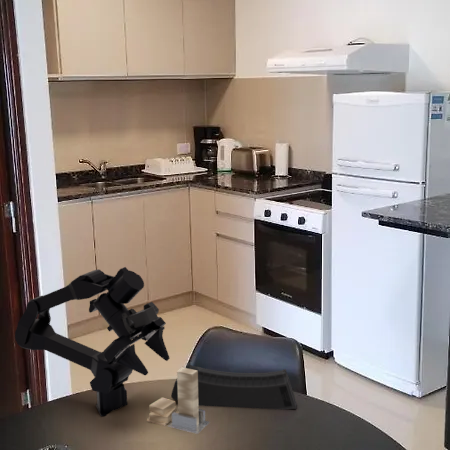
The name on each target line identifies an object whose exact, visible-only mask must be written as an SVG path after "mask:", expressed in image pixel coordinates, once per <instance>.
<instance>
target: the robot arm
mask: <svg viewBox="0 0 450 450" xmlns="http://www.w3.org/2000/svg"><path fill="white" fill-rule="evenodd" d="M144 286H145V282H144V279H143V278H142V277H141V275H140V274H138V273H136V272H134V271H132V270H129V269H128V268H127V267H126V266H125V267H122V268H120V269H119V270H118V271H117V273H116V274H115V275H110V274H106V273H104V271H102V270H101V269H94V270H92V271H89V272H86V273H83V274H80V275H79V276H77V277H76V278H74V279H73V280H71V281H70V283H68V284H67V285H66V286H64V287H62V288H59V289H57V290H54V291H52V292H49V293H47V294H45V295H40V296H36V297H34V298H32V299H30V300H29V301H28V302H27V303H26V307H25V311H24V312H23V314H22V316H21V318H20V319H19V321H18V322H17V325H16V326H17V327H16V329H15V332H14V339H15V340H14V341H15V342H16V344H17V345H18V346H19V347H20V348H23V349H26V350H30V351H47V352H49V353H51V354H52V355H53V354H54V355H55V356H57V357H60V358H62V359H64V360H67V361H70V362H71V363H74V364H76V365H78V366H81V367H83V368H85V369H86V370H90V372H91V373H92V375H93V376H94V378H93V379H91V381H89V385H90V388H91V391H92V392H93V391H94V392H96V401H97V402H96V404H95V407H96V409H97V411H98V413H99V415H100V417H106V416H107V415H108V414H110V413H112V412H114V411H117V410H119V409H121V408H122V407H125V406H127V405H128V393H127V389H126V387H125V384H124V383H125V382H127V381H128V380H129V377H130V376H131V374H132V373H133V372H134V371H135V372H136V373H139V374H141V375H142V376H147V375H148V374H149V371H148V369H147V367H146V366H145V365H144V363H143V361H142V360H141V358H140V357H139V356H138V355H137V353H136V346H135V343H137V342H138V341H140V340H143V341H144V345H146V346H147V347H148V348H149V349H151V351H153V352H154V353H156V355H158V356H159V357H160V358H161V359H163V360H164V361H166V362H168V361H169V360H170V355H169V353H168V350H167V346H166V344H165V341H164V335H163V334H164V330H165V325H166V322H165V321H164V319H163V318H162V316H161V317H160V316H158V314H159V310H160V309H159V308H158V306H157V305H156V304H155V303H154V302H153V301H150V302H148V303H145V304H144V305H143V309H141V310H139V311H136V309H134V308H130V309H128V308H127V306H126V304H129V303H130V302H131V301H132V300H133V299H134V298H135V297H136V296H137V294H139V293H140V292H141V291H142V290H143V289H144ZM106 291H107V292H106ZM97 295H99V296H98V297H97V298H94V299H92V300H89V308H88V312H89V313H90V314H91V313H93V312H95V311H97V312H98V313H99V314H100V316H101V317H102V318H103V319H104V321H105V322H107V324H108V325H109V326H108V327H107V328H106V329H107V330H108V332H112V331H113V332H114V334H115V335H116V336H117V338H116V339H114V340H112V342H110V344H109V345H108V346H107V347H106V348H105V349H104V350H103V351H99V350H97V349H94V348H93V347H92V348H91V347H89V346H87V345H85V344H83V343H80V342H78V341H75V340H73V339H71V338H69V337H66V336H63V335H62V334H59V333H57V332H56V331H55V329H54V328H53V326H52V324H51V320H52V318H51V313H50V309H53V308H55V307H57V306H59V305H62V304H65V303H68V302H69V301H74V300H77V301H80V300H87V299H90V298H93V297H94V296H95V297H96V296H97Z"/></svg>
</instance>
